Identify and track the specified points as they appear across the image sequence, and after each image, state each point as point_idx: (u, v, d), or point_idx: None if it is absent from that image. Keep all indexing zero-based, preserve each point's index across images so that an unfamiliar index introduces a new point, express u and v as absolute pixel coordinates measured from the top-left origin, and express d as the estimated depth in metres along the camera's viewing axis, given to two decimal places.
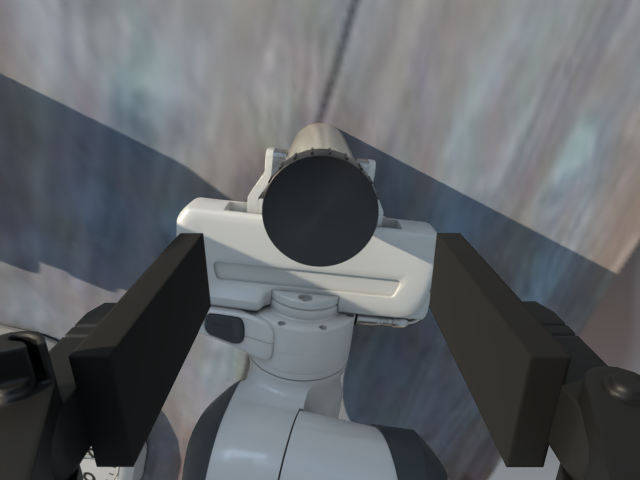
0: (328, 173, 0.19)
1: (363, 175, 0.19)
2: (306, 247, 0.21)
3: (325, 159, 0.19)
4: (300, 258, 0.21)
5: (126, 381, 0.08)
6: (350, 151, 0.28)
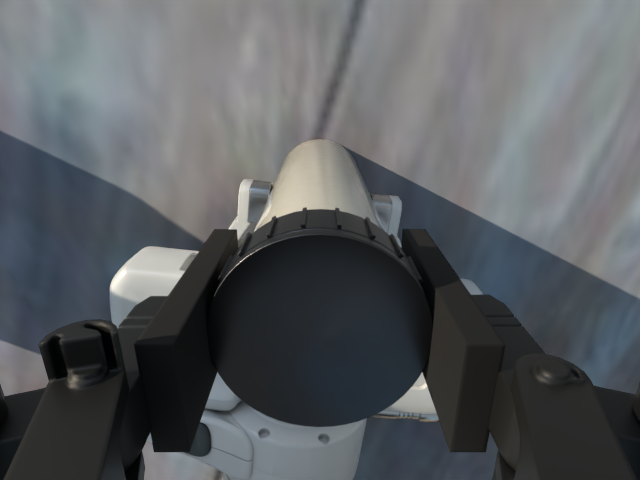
0: (336, 268, 0.10)
1: (406, 271, 0.10)
2: (294, 396, 0.11)
3: (330, 242, 0.09)
4: (282, 414, 0.11)
5: (184, 369, 0.09)
6: (366, 190, 0.18)
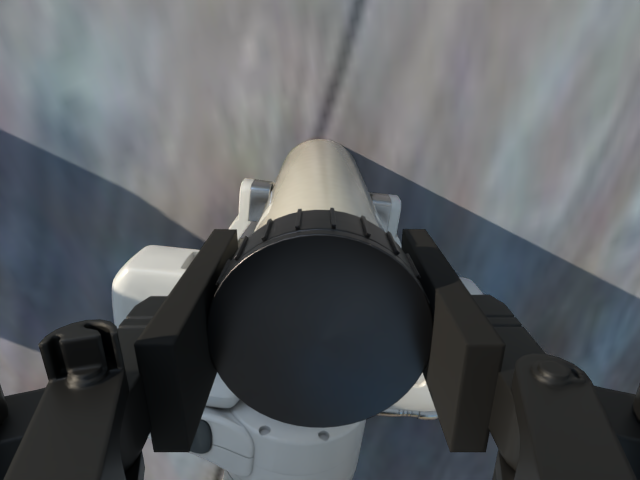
0: (246, 366, 0.11)
1: (210, 317, 0.10)
2: (395, 327, 0.10)
3: (229, 380, 0.11)
4: (422, 326, 0.10)
5: (184, 369, 0.09)
6: (366, 189, 0.18)
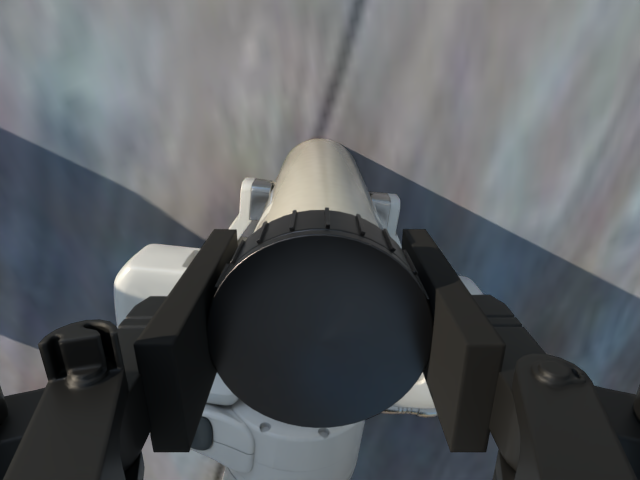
0: (383, 379, 0.11)
1: (352, 422, 0.11)
2: (264, 293, 0.10)
3: (408, 383, 0.11)
4: (246, 272, 0.10)
5: (184, 369, 0.09)
6: (365, 188, 0.18)
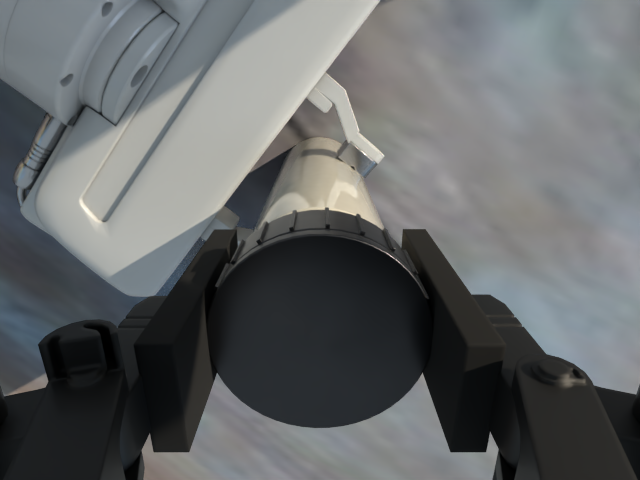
0: (383, 379, 0.11)
1: (352, 422, 0.11)
2: (264, 293, 0.10)
3: (408, 383, 0.11)
4: (246, 272, 0.10)
5: (184, 369, 0.09)
6: None
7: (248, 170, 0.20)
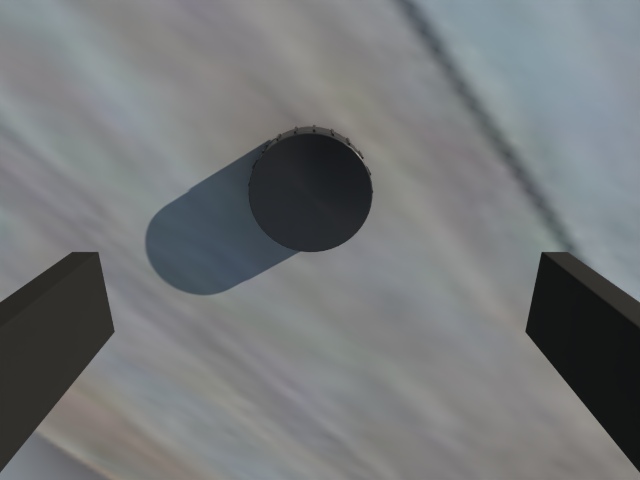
0: (346, 219, 0.19)
1: (329, 248, 0.20)
2: (280, 167, 0.18)
3: (359, 222, 0.20)
4: (271, 155, 0.18)
5: None
6: None
7: None
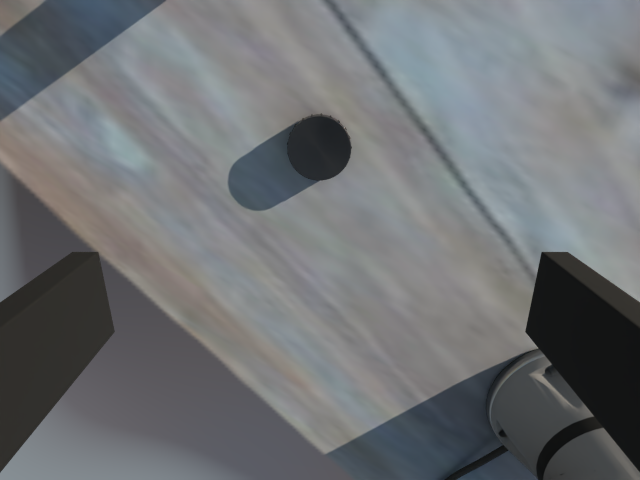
0: (337, 162, 0.37)
1: (329, 178, 0.38)
2: (304, 133, 0.36)
3: (344, 163, 0.37)
4: (299, 127, 0.36)
5: None
6: None
7: None
